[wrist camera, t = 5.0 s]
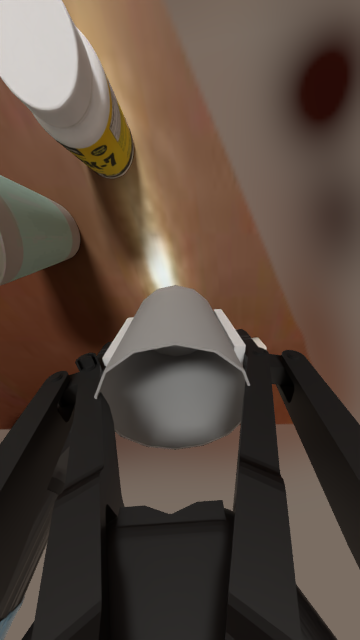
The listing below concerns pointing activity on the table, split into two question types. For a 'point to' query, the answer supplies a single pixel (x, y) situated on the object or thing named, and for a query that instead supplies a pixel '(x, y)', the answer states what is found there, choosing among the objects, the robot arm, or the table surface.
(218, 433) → the cup
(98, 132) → the supplement bottle
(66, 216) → the coffee cup
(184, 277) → the table surface
